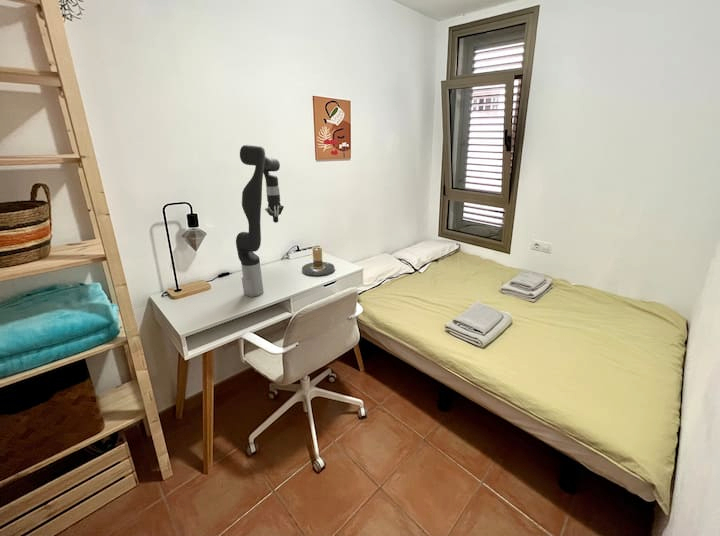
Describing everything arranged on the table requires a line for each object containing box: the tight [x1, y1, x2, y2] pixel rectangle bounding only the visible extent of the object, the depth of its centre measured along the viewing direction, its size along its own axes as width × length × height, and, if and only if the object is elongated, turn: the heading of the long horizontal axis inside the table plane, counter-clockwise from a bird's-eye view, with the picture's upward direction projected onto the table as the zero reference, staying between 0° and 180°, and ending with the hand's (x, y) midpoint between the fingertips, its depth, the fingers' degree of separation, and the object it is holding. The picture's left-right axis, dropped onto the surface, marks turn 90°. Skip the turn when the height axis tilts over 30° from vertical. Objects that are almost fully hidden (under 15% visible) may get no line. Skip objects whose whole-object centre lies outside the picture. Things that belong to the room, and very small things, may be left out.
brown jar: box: [312, 247, 324, 269], centre depth 205 cm, size 7×7×12 cm
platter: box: [301, 261, 335, 277], centre depth 207 cm, size 20×20×2 cm
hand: (276, 222), depth 205 cm, fingers closed
